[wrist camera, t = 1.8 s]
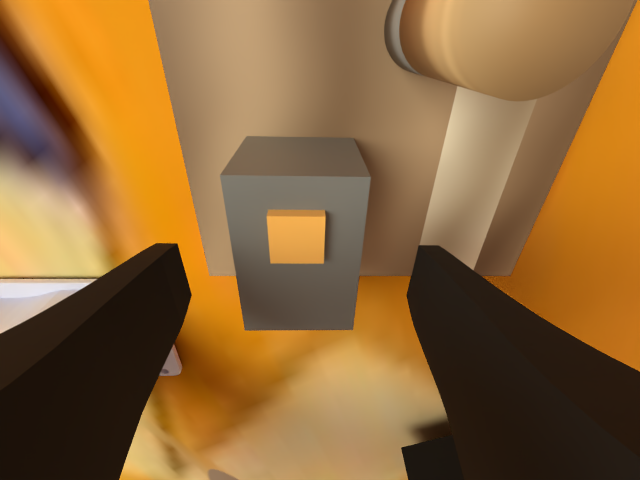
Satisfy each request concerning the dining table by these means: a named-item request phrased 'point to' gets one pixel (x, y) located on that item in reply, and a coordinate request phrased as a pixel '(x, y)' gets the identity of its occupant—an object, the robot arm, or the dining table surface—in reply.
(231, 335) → the dining table surface
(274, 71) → the subfloor panel
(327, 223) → the block
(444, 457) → the red-and-black block model
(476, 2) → the tan capsule cylinder
